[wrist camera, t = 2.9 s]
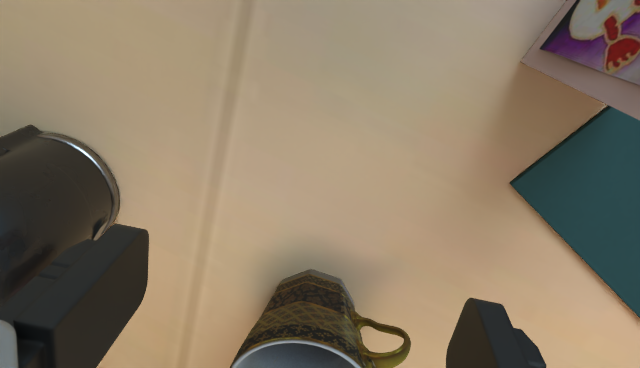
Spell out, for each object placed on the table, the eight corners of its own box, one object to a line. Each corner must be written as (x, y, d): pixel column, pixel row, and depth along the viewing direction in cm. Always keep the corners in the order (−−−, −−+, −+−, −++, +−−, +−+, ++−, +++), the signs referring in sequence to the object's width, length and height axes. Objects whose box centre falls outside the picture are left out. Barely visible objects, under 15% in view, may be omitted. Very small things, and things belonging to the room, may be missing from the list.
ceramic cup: (289, 358, 42) (269, 463, 33) (234, 275, 39) (195, 366, 29) (423, 315, 39) (442, 418, 30) (375, 221, 35) (381, 303, 26)
